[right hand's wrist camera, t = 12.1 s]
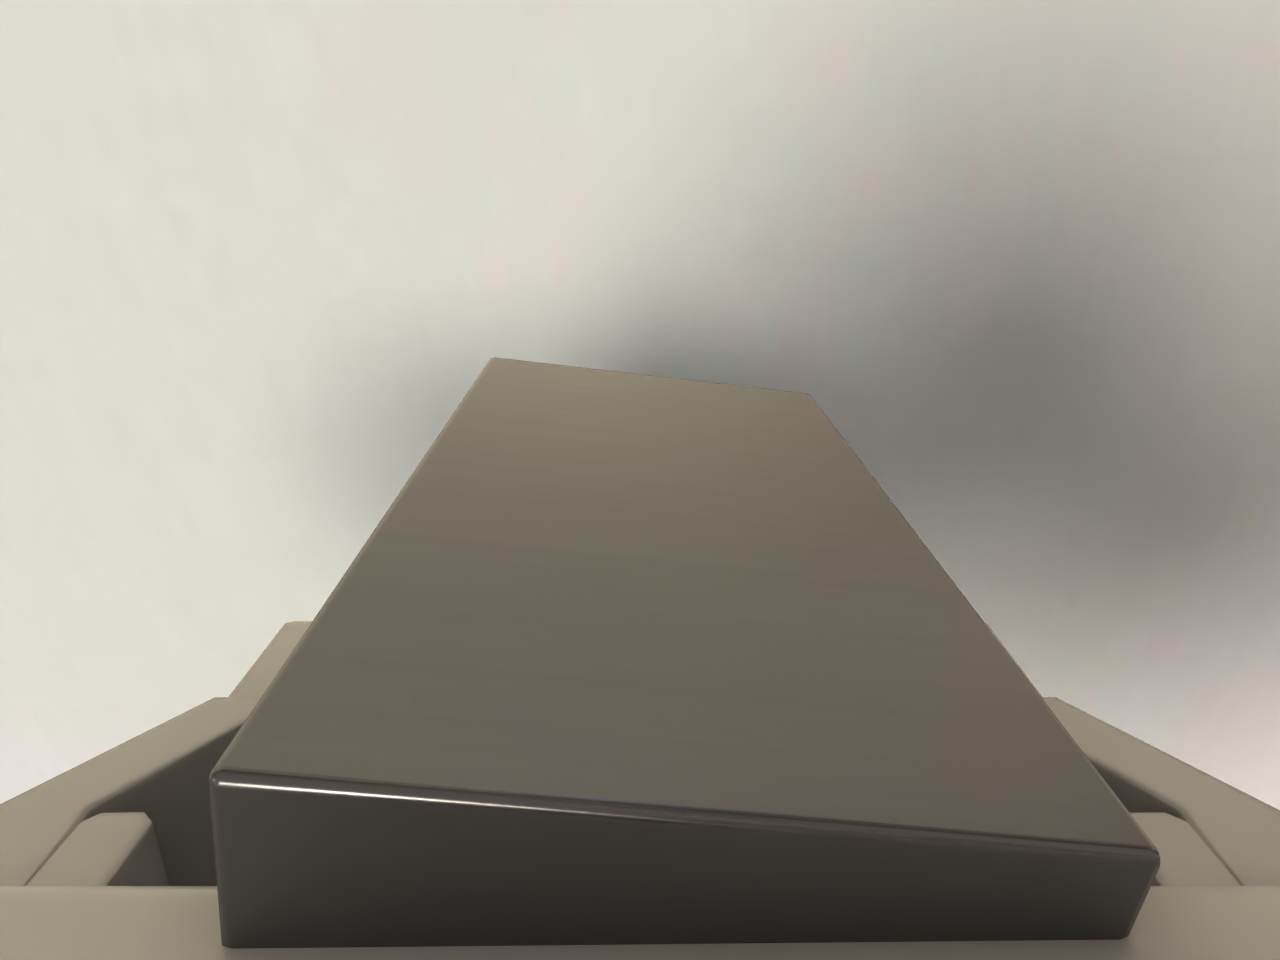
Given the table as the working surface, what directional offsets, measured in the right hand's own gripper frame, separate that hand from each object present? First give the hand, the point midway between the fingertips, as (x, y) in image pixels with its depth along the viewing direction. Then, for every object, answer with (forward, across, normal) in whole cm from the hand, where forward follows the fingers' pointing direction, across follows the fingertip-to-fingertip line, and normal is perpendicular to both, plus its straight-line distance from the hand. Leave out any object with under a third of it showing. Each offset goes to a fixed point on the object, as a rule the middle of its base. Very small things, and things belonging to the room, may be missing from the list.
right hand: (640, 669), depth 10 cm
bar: (+4, -1, -10) cm, 11 cm away
